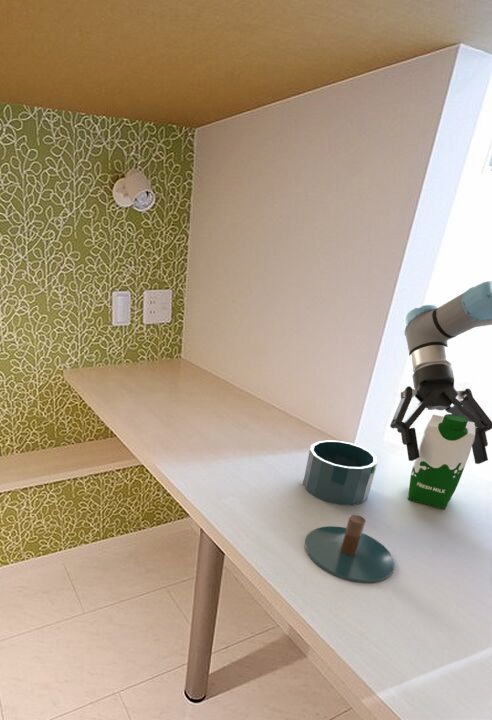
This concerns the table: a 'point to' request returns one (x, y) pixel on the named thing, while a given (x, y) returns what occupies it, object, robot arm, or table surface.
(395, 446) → the table surface
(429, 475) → the milk carton
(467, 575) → the table surface
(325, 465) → the jar
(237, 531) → the table surface
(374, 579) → the jar lid
